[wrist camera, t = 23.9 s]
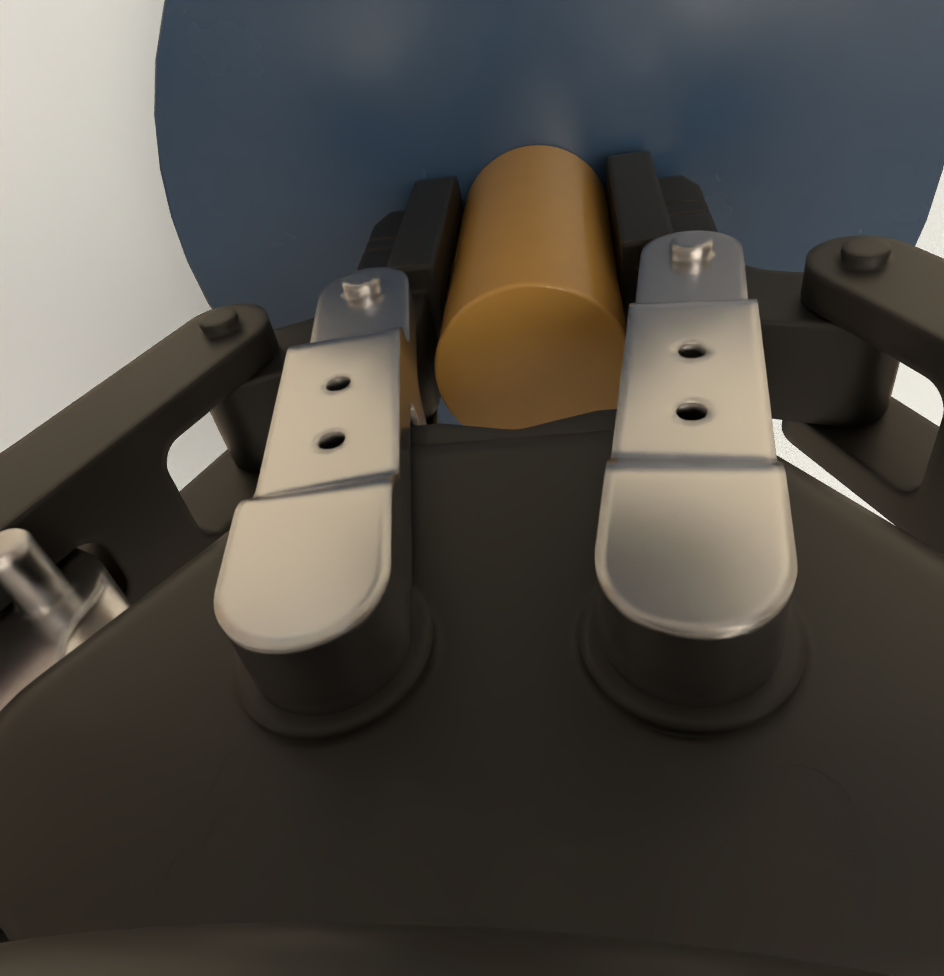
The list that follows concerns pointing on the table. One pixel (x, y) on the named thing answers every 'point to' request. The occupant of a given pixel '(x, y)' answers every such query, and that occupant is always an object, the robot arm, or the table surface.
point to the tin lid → (534, 154)
